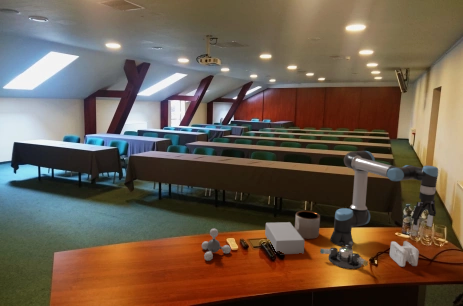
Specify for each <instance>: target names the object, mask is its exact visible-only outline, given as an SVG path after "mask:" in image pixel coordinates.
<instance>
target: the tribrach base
mask: <svg viewBox="0 0 463 306" xmlns="http://www.w3.org/2000/svg"><path fill="white" fill-rule="evenodd" d="M338 249H339V251H338V252H337V259H336V260H333V259H330V254H328V261H329V262H330V263H331V264H333V265H334V266H336V267H338V268H341V269H345V270H356V269H360V268H361V267H362V266H363V264H361V263H359V265H358V266H354V265H352V264H351V258H352V253H354V250H353V248H352V249H350V248H347V247H345V246H340V247H339V248H338Z"/></svg>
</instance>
